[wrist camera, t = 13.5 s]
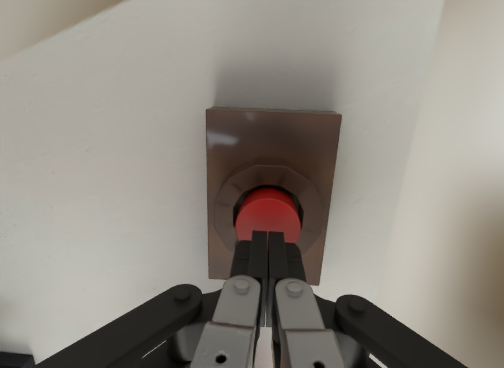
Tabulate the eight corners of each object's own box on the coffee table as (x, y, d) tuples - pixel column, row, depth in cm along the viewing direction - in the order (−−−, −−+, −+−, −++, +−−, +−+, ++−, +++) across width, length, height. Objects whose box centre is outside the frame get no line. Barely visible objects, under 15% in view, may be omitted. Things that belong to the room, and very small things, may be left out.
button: (238, 186, 17) (235, 196, 15) (300, 188, 17) (303, 200, 15) (237, 239, 18) (234, 255, 16) (295, 243, 18) (297, 259, 16)
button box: (212, 106, 19) (198, 111, 15) (334, 111, 19) (350, 117, 15) (213, 261, 23) (203, 296, 19) (314, 267, 23) (323, 304, 19)
